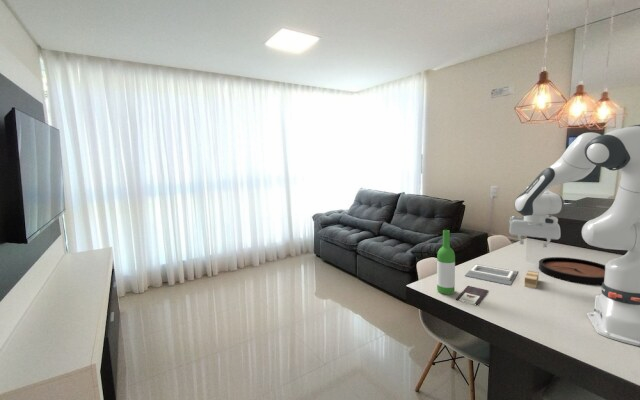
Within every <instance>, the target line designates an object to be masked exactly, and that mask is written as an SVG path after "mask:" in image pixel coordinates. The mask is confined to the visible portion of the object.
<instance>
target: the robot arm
mask: <svg viewBox="0 0 640 400" xmlns="http://www.w3.org/2000/svg"><path fill="white" fill-rule="evenodd" d="M596 166H597V167H601V168H605V169H607V170H609V171H618V170H620V173H621V177H620V179H619V183H618V188H617V191H616V195H615V198H614V200H613V203H612V204H611V206H610V207H609V208H608V209H607V210H606V211H605V212H603V213H602V214H601V215H599V216H597V217H594V218H593V219H592V218H591V219H590V220H588V221H587V222H585V223H584V224H583V225H582V227H581V237H582V239H583V241H584V242H585V243H587V245H589V246H592V247H596V248H600V249H605V250H616V251H617V250H619V251H627V252H626V253H625V254H624V255H622V256H620V257H617V258H614V259H613V258H612V259H611V260H609V261H608V262H607V263H606V264H605V265H606V266H605V276H604V282H603V283H602V285H601V293H600V294H597V295H596V296H595V301H594V309H593V310H594V311H592V312H591V311H589V312H587V317H588V319H589V321H590V323H591V324H592V326H593V328H594V330H595V331H596V333H597V334H599V335H600V336H603V337H605V338H608V339H612V340H615V341H618V342H621V343H625V344H629V345H633V346H637V347H638V346H639V347H640V124H634V125H629V126H627V127H623V128H622V127H621V128H618V129H614V130H611V131H608V132H606V133H604V134H600V133H597V132H592V131H591V132H584V133H582V134H579V135H578V136H577V137H576V138H575V139H574V140H573V141H572V142H571V143H570V144H569V146H568V147H567V148H566V149H565V150H564V153H563V154H562V155H561V157H560V158H558V159H557V160H556V161H555V162H554V163H552V165H550V166H548V167H547V168H545V169H544V170H542V171H541V172H540V173H539V174H538V175H537V176H536V177H535V178H534V180H533V181H532V182H531V183H530V185H528V186H526V188H525V190H524V191H523V192H521V193H520V194H519V195H518V196H517V197H516V199H515V200H514V204H513V205H514V209H515V210H516V212H517V213H518V214H520V215H522V216H511V217H510V218H509V221H508V223H509V230H508V231H509V234H510V235H512V236H517V240H519V244H520V245H524V244H525V243H524V241H525V240H523V239H522V238H521V237H522V236H524V237H531V238H542V239H546V242H543V245H542V248H548V245H549V243H550V242H551V241H552V240H559V239H561V234H562V233H561V227H560V224H559V223H558V222H559V218H558V217H556V216H553V215H556V214H557V215H558V214H559V213H561V212H562V211H563V209H564V205H565V201H564V198H563V197H562V196H561V195H560V194H558V193H555V192H553V191H551V190H550V188H551V187H552V188H553V187H555V186H558V185H562V184H565V183H571V182H576V181H581V180H583V179H585V178H586V177H587V176H588V175H589V174H591V173H592V172H593V170H594V169H595V168H596Z"/></svg>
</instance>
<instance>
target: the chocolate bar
mask: <svg viewBox="0 0 640 400" xmlns="http://www.w3.org/2000/svg"><path fill="white" fill-rule="evenodd" d="M486 293H487V294H488V293H489V290H488V289H484V288H480V287H476V286H472V285H467V286H466V287H465V288H464V289H463V291H462V292H461V293H460V294H459V295H458V296H457V297H456V298H455V300H456V301H458V300H460V301H459V302H462V301H464V302H463V303H465V302H468V303H467V304H469V303H472V304H471V305H473V304H476V305H475V306H477V305H478V304H479V305H480V304H481V302H482V301H483V299H484V298H485V297H486V296H487V294H486ZM481 300H482V301H481ZM479 305H478V306H479Z"/></svg>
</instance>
